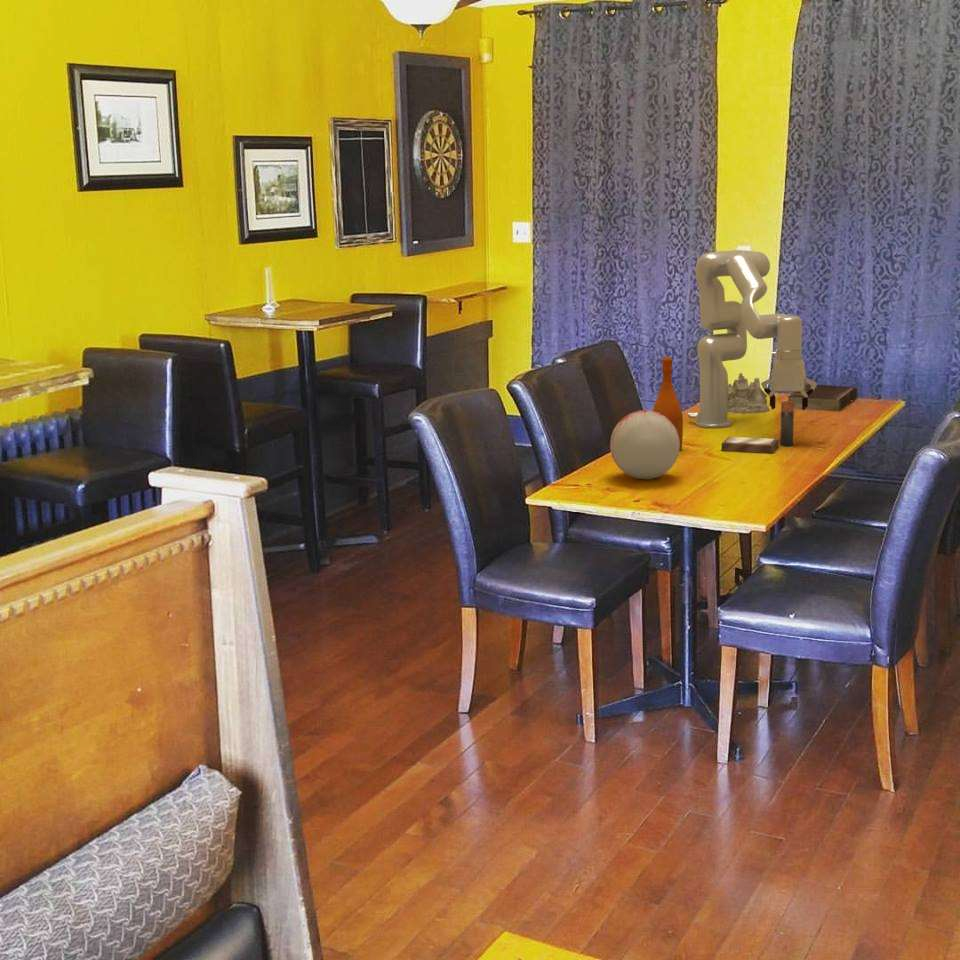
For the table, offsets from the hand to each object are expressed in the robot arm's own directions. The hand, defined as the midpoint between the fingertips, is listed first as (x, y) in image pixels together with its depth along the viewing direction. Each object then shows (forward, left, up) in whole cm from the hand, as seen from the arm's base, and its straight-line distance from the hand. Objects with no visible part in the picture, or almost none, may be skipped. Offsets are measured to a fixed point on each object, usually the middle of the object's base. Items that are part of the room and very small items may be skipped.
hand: (788, 409), depth 391 cm
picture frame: (-10, -8, -12) cm, 18 cm away
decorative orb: (-31, -55, -12) cm, 64 cm away
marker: (0, 0, -12) cm, 12 cm away
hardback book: (0, +77, -13) cm, 78 cm away
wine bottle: (-35, -16, -12) cm, 41 cm away
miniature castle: (-26, +58, -12) cm, 65 cm away
